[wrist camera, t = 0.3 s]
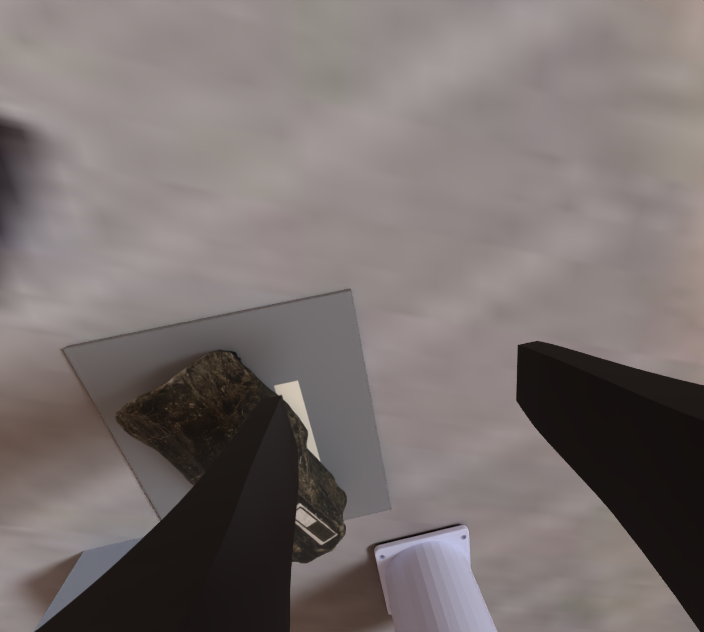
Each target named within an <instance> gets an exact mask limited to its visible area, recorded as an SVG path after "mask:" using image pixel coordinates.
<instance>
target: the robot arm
mask: <svg viewBox="0 0 704 632" xmlns="http://www.w3.org/2000/svg"><path fill="white" fill-rule="evenodd" d="M516 401H517V402H518V404H519V405H520V407H521V408H522V410H523V411H524V413H525V414H526V416H527V417H528V418H529V420H530V421H531V423H532V424H533V425H534V427H535V428H536V429H537V430H538V432H539V433H540V434H541V435H542V436H543V437H544V438H545V439H546V440H547V442H548V443H549V444H550V445H551V446H552V447H553V448H554V449H555V450H556V451H557V452H558V454H559V455H560V456H561V457H562V458H563V459H564V460H565V461H566V462H567V463H568V464H569V465H570V467H571V468H572V469H573V470H574V471H575V472H576V473H577V474H578V475H579V476H580V477H581V478H582V479H583V481H584V482H585V483H586V484H587V485H588V486H589V487H590V488H591V489H592V490H593V491H594V492H595V493H596V495H597V496H598V497H599V498H600V499H601V500H602V501H603V503H604V504H605V505H606V506H607V507H608V508H609V510H610V511H611V512H612V513H613V514H614V516H615V517H616V518H617V520H618V521H619V522H620V523H621V525H622V526H623V527H624V529H625V530H626V531H627V532H628V534H629V535H630V536H631V538H632V539H633V540H634V541H635V543H636V544H637V545H638V547H639V548H640V549H641V550H642V552H643V553H644V554H645V556H646V557H647V558H648V560H649V561H650V563H651V564H652V565H653V567H654V568H655V569H656V571H657V572H658V573H659V575H660V576H661V577H662V579H663V580H664V581H665V583H666V584H667V586H668V587H669V588H670V590H671V591H672V592H673V594H674V595H675V596H676V598H677V599H678V601H679V602H680V603H681V605H682V606H683V608H684V609H685V611H686V612H687V614H688V615H689V616H690V618H691V619H692V621H693V622H694V624H695V625H696V626H697V628H698V629H699V631H700V632H704V385H699V384H695V383H691V382H686V381H682V380H678V379H674V378H670V377H666V376H662V375H659V374H655V373H651V372H647V371H643V370H640V369H636V368H632V367H629V366H625V365H622V364H618V363H615V362H611V361H608V360H605V359H601V358H598V357H595V356H591V355H588V354H585V353H581V352H578V351H574V350H571V349H568V348H564V347H560V346H557V345H553V344H549V343H545V342H540V341H535V342H530V343H525V344H521V345H518V358H517V394H516ZM298 487H299V464H298V447H297V444H296V440H295V437H294V434H293V430H292V427H291V424H290V420H289V417H288V414H287V410H286V407H285V404H284V400H283V397H282V395H279V396H274V397H269V398H264V399H261V400H260V401H259V403H258V404H257V405H256V407H255V408H254V410H253V411H252V412H251V414H250V415H249V416H248V418H247V419H246V421H245V422H244V423H243V425H242V426H241V427H240V429H239V430H238V432H237V433H236V434H235V436H234V437H233V438H232V440H231V441H230V442H229V444H228V445H227V446H226V448H225V449H224V450H223V451H222V453H221V454H220V455H219V456H218V457H217V459H216V460H215V461H214V462H213V464H212V465H211V466H210V467H209V468H208V470H207V471H206V472H205V473H204V474H203V476H202V477H201V478H200V479H199V480H198V482H197V483H196V484H195V485H194V486H193V487H192V488H191V490H190V491H189V492H188V493H187V494H186V495H185V496H184V497H183V498H182V499H181V500H180V502H179V503H178V504H177V505H176V506H175V507H174V508H173V509H172V510H171V511H170V512H169V513H168V514H167V515H166V516H165V517H164V518H163V519H162V520H161V521H160V522H159V523H158V524H157V525H156V526H155V527H154V528H153V529H152V530H151V531H150V532H149V533H148V534H147V535H146V536H144V537H143V538H142V539H141V540H140V541H139V542H138V543H137V544H136V545H135V546H134V547H133V548H132V549H130V550H129V551H128V552H127V553H126V554H125V555H124V556H123V557H122V558H121V559H120V560H119V561H118V562H116V563H115V564H114V565H113V566H112V567H111V568H110V569H109V570H108V571H107V572H105V573H104V574H103V575H102V576H101V577H100V578H99V579H97V580H96V581H95V582H94V583H93V584H92V585H90V586H89V587H88V588H87V589H86V590H85V591H83V592H82V593H81V594H80V595H79V596H78V597H76V598H75V599H74V600H73V601H72V602H70V603H69V604H68V605H67V606H65V607H64V608H63V609H62V610H61V611H59V612H58V613H57V614H56V615H54V616H53V617H52V618H51V619H50V620H48V621H47V622H46V623H45V624H44V625H42V626H41V627H40V628H39V629H37V630H36V631H35V632H290V581H291V565H292V554H293V543H294V532H295V521H296V510H297V499H298ZM374 553H375V558H376V562H377V567H378V571H379V575H380V580H381V584H382V589H383V593H384V598H385V602H386V606H387V611H388V614H389V615H392V618H393V623H394V628H395V632H497V630H496V628H495V625H494V623H493V620H492V618H491V616H490V613H489V611H488V609H487V606H486V604H485V601H484V599H483V597H482V594H481V592H480V590H479V587H478V585H477V582H476V580H475V578H474V575H473V573H472V571H471V565H470V546H469V531H468V529H467V527H466V526H465V525H460V526H456V527H452V528H448V529H443V530H439V531H435V532H431V533H427V534H423V535H418V536H414V537H410V538H406V539H402V540H398V541H393V542H389V543H385V544H381V545H378V546H376V547H375V548H374Z"/></svg>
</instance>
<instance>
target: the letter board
mask: <svg viewBox="0 0 704 632" xmlns="http://www.w3.org/2000/svg"><path fill="white" fill-rule="evenodd" d="M63 350H64V352H65V354H66V356H67V357H68V359H69V361H70V362H71V364H72V366H73V368H74V369H75V371H76V373H77V375H78V376H79V378H80V380H81V381H82V383H83V385H84V387H85V388H86V390H87V392H88V394H89V395H90V397H91V399H92V400H93V402H94V404H95V406H96V407H97V409H98V411H99V413H100V414H101V416H102V418H103V419H104V421H105V423H106V425H107V426H108V428H109V430H110V432H111V433H112V435H113V437H114V438H115V440H116V442H117V444H118V445H119V447H120V449H121V451H122V452H123V454H124V456H125V457H126V459H127V461H128V463H129V464H130V466H131V468H132V469H133V471H134V473H135V475H136V476H137V478H138V480H139V482H140V483H141V485H142V487H143V488H144V490H145V492H146V494H147V495H148V497H149V499H150V501H151V502H152V504H153V506H154V507H155V509H156V511H157V513H158V514H159V516H160V518H161V520H162V519H163V518H164V517H165V516H166V515H167V514H168V513H169V512H170V511H171V510H172V509H173V508H174V507H175V506H176V505H177V504H178V503H179V502H180V500H181V499H182V498H183V497H184V496H185V495H186V494H187V493H188V492H189V491H190V490H191V488H192V487H193V485H192V484H191V483H190V482H188V481H187V479H186V478H185V477H184V475H183V474H182V473H181V472H180V471H179V470H177V469H176V468H175V467H174V466H173V465H172V464H171V463H170V462H169V461H168V460H166V459H165V458H164V457H163V456H162V455H161V454H160V453H159V452H158V451H156V450H155V449H153V448H151V447H149V446H147V445H145V444H144V443H142V442H140V441H139V440H137V439H135V438H133V437H131V436H130V435H129V434H128V433H126V432H125V431H124V430H123V429H122V427H121V426H120V425H119V424H118V423H117V422H116V419H115V414H116V413H117V412H118V411H120V410H121V408H122V407H123V406H124V405H126V404H127V403H129V402H131V401H133V400H134V399H135V398H137V397H138V396H140V395H143V394H145V393H147V392H150V391H152V390H153V389H155V388H157V387H159V386H160V385H162V384H164V383H166V382H168V381H169V380H171V379H172V377H174V376H175V375H177V374H178V373H180V372H181V371H182V370H183V369H185V368H186V367H187V366H189V365H191V364H192V363H194V362H195V361H196V360H198V359H200V358H201V357H203V356H204V355H206V354H208V353H210V352H213V351H217V350H225V351H233V352H236V353H237V355H238V357H240V358H241V362H242V364H243V365H245V366H246V367H247V368H248V369H250V370H251V371H252V372H253V373H254V374H255V375H256V377H257V378H258V379H260V380H261V381H262V382H263V383H264V384H265V385H266V386H267V387H268V388H269V389H271V390H272V391H274V392H275V393H276V394H278V395H282V397H283V400H285V401H286V402H287V403H288V404H289V405H290V407H291V408H292V410H293V411H294V412H295V413H296V414H297V416H298V417H299V418H300V420H301V421H302V423H303V424H304V426H305V427H306V429H307V430H308V439H307V448H308V449H309V450H310V452H311V453H312V454H313V455H314V456H315V457H316V458H317V459H318V460H319V461H320V462H321V463H322V464H323V465H324V467H325V468H326V469H327V470H328V471H329V472H330V473H331V474H332V475H333V477H334V478H335V481H336V483H337V485H338V486H339V487H340V488H341V489H342V490H343V491H345V494H346V496H347V505H346V507H345V509H344V512H343V521H344V520H348V519H352V518H356V517H360V516H365V515H369V514H373V513H377V512H382V511H386V510H390V509H391V505H390V500H389V494H388V489H387V483H386V478H385V472H384V467H383V461H382V456H381V450H380V445H379V439H378V434H377V428H376V423H375V417H374V412H373V406H372V401H371V395H370V390H369V384H368V379H367V373H366V368H365V362H364V357H363V351H362V346H361V340H360V335H359V329H358V324H357V318H356V313H355V307H354V302H353V296H352V291H351V289H347V290H342V291H337V292H332V293H327V294H322V295H317V296H312V297H307V298H302V299H297V300H292V301H287V302H283V303H278V304H273V305H268V306H263V307H258V308H253V309H248V310H243V311H238V312H233V313H228V314H223V315H218V316H213V317H209V318H204V319H199V320H194V321H189V322H184V323H179V324H174V325H169V326H164V327H159V328H154V329H149V330H144V331H139V332H134V333H130V334H125V335H120V336H115V337H110V338H105V339H100V340H95V341H90V342H85V343H80V344H75V345H70V346H67V347H66V348H64V349H63Z"/></svg>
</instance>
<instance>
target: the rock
mask: <svg viewBox="0 0 704 632" xmlns="http://www.w3.org/2000/svg"><path fill="white" fill-rule="evenodd" d="M274 396H279V395H278V394H276V393H275V392H274V391H272V390H271V389H269V388H268V387H267V386H266V385H265V384H264V383H263V382H262V381H261V380H260V379H258V378H257V377H256V375H255V374H254V373H253V372H252V371H251V370H250V369H248V368H247V367H246V366H245V365H243V364H242V362H241V358H240V357H238V355H237V353H236V352H233V351H225V350H217V351H213V352H210V353H208V354H206V355H204V356H203V357H201V358H200V359H198V360H196V361H195V362H194V363H192V364H191V365H189V366H187V367H186V368H185V369H183V370H182V371H181V372H180V373H178V374H177V375H175V376H174V377H172V379H171V380H169V381H168V382H166V383H164V384H162V385H160V386H159V387H157V388H155V389H153V390H152V391H150V392H147V393H145V394H143V395H140V396H138V397H137V398H135V399H134V400H133V401H131V402H129V403H127V404H126V405H124V406H123V407H122V408H121V410H120V411H118V412H117V413H116V414H115V419H116V422H117V423H118V424H119V425H120V426H121V427H122V429H123V430H124V431H125V432H126V433H128V434H129V435H130V436H131V437H133V438H135V439H137V440H139V441H140V442H142V443H144V444H145V445H147V446H149V447H151V448H153V449H155V450H156V451H158V452H159V453H160V454H161V455H162V456H163V457H164V458H165V459H166V460H168V461H169V462H170V463H171V464H172V465H173V466H174V467H175V468H176V469H177V470H179V471H180V472H181V473H182V474H183V475H184V477H185V478H186V479H187V481H188V482H190V483H191V484H192V485H193V486H194V485H195V484H196V483H197V482H198V480H199V479H200V478H201V477H202V476H203V474H204V473H205V472H206V471H207V470H208V468H209V467H210V466H211V465H212V464H213V462H214V461H215V460H216V459H217V457H218V456H219V455H220V454H221V453H222V451H223V450H224V449H225V448H226V446H227V445H228V444H229V442H230V441H231V440H232V438H233V437H234V436H235V434H236V433H237V432H238V430H239V429H240V427H241V426H242V425H243V423H244V422H245V421H246V419H247V418H248V416H249V415H250V414H251V412H252V411H253V410H254V408H255V407H256V405H257V404H258V403H259V401H260V400H261V399H264V398H269V397H274ZM284 404H285V407H286V410H287V414H288V417H289V420H290V424H291V427H292V430H293V434H294V437H295V440H296V444H297V447H298V464H299V487H298V499H297V510H296V521H295V532H294V543H293V554H292V562H299V563H308V562H310V561H313V560H314V559H316V558H317V557H319V556H321V555H323V554H325V553H327V552H331V551H333V550H334V549H335V547H336V545H337V544H338V543H339V542H340V541H341V539H342V538H343V537H344V535H345V532H346V526H345V524H344V522H343V512H344V509H345V507H346V505H347V496H346V494H345V491H343V490H342V489H341V488H340V487H339V486H338V485H337V483H336V481H335V478H334V477H333V475H332V474H331V473H330V472H329V471H328V470H327V469H326V468H325V467H324V465H323V464H322V463H321V462H320V461H319V460H318V459H317V458H316V457H315V456H314V455H313V454H312V453H311V452H310V450H309V449H308V448H307V439H308V430H307V429H306V427H305V426H304V424H303V423H302V421H301V420H300V418H299V417H298V416H297V414H296V413H295V412H294V411H293V410H292V408H291V407H290V405H289V404H288V403H287V402H286V401H285V400H284Z"/></svg>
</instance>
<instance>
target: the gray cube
mask: <svg viewBox="0 0 704 632" xmlns="http://www.w3.org/2000/svg"><path fill="white" fill-rule="evenodd" d="M142 538H143V537H142ZM142 538H138V539H134V540H130V541H125V542H121V543H117V544H112V545H108V546H104V547H99V548H95V549H91V550H86V551H83V553H82V555H81V556H80V558H79V559H78V561H77V563H76V564H75V566H74V568H73V569H72V571H71V572H70V574H69V576H68V577H67V579H66V580H65V582H64V584H63V585H62V587H61V588H60V590H59V592H58V593H57V595H56V596H55V598H54V600H53V601H52V603H51V605H50V606H49V608H48V609H47V611H46V613H45V614H44V616H43V617H42V619H41V621H40V622H39V624H38V625H37V627H36V629H35V630H34V632H35V631H36V630H37V629H39V628H40V627H41V626H42V625H44V624H45V623H46V622H47V621H48V620H50V619H51V618H52V617H53V616H54V615H56V614H57V613H58V612H59V611H61V610H62V609H63V608H64V607H65V606H67V605H68V604H69V603H70V602H72V601H73V600H74V599H75V598H76V597H78V596H79V595H80V594H81V593H82V592H83V591H85V590H86V589H87V588H88V587H89V586H90V585H92V584H93V583H94V582H95V581H96V580H97V579H99V578H100V577H101V576H102V575H103V574H104V573H105V572H107V571H108V570H109V569H110V568H111V567H112V566H113V565H114V564H115V563H116V562H118V561H119V560H120V559H121V558H122V557H123V556H124V555H125V554H126V553H127V552H128V551H129V550H130V549H132V548H133V547H134V546H135V545H136V544H137V543H138V542H139V541H140V540H141V539H142Z"/></svg>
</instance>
